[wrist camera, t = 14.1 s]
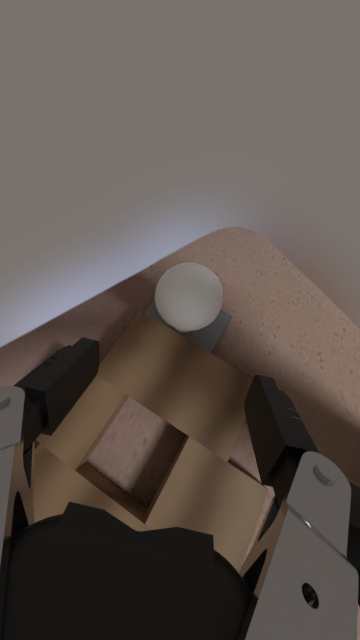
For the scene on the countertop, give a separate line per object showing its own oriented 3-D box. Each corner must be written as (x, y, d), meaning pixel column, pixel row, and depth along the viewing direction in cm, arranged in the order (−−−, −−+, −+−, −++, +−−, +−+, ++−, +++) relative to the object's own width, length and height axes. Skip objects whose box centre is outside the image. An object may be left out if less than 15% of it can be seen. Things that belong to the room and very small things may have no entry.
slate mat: (230, 318, 27) (231, 316, 26) (198, 377, 24) (198, 376, 23) (167, 283, 28) (167, 280, 28) (129, 334, 25) (128, 333, 25)
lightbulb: (193, 357, 24) (212, 331, 14) (149, 334, 25) (136, 292, 14) (213, 316, 26) (243, 266, 16) (173, 296, 27) (176, 235, 17)
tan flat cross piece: (284, 403, 23) (297, 404, 21) (176, 697, 15) (177, 751, 13) (116, 302, 27) (111, 293, 24) (-45, 500, 19) (-75, 515, 16)
